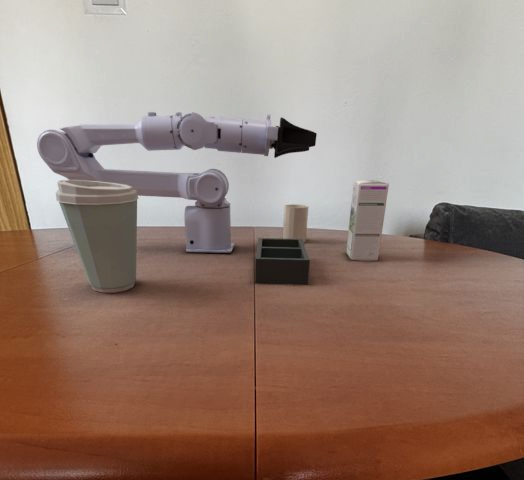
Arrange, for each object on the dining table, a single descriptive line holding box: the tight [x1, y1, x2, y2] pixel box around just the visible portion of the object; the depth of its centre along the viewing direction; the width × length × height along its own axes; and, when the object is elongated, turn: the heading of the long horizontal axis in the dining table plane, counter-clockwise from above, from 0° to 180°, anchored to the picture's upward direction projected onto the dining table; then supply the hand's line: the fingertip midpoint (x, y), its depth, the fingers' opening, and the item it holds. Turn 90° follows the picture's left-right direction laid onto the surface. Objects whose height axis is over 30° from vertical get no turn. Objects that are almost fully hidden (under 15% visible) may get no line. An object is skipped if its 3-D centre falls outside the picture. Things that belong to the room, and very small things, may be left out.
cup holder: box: [254, 237, 311, 285], centre depth 68 cm, size 9×16×4 cm, turn 179°
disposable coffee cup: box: [55, 179, 139, 294], centre depth 55 cm, size 11×11×15 cm
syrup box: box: [345, 179, 390, 262], centre depth 75 cm, size 6×6×14 cm
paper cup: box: [282, 203, 309, 244], centre depth 90 cm, size 6×6×8 cm
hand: (312, 142), depth 73 cm, fingers open, 7 cm apart
